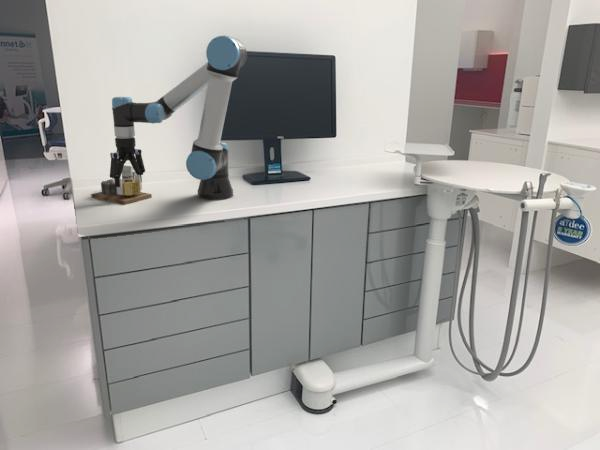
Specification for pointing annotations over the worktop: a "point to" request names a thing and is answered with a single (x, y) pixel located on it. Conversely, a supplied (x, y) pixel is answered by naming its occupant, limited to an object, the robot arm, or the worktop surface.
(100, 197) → the gear board
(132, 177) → the ink box
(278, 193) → the worktop surface
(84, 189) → the worktop surface
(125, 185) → the brass gear
